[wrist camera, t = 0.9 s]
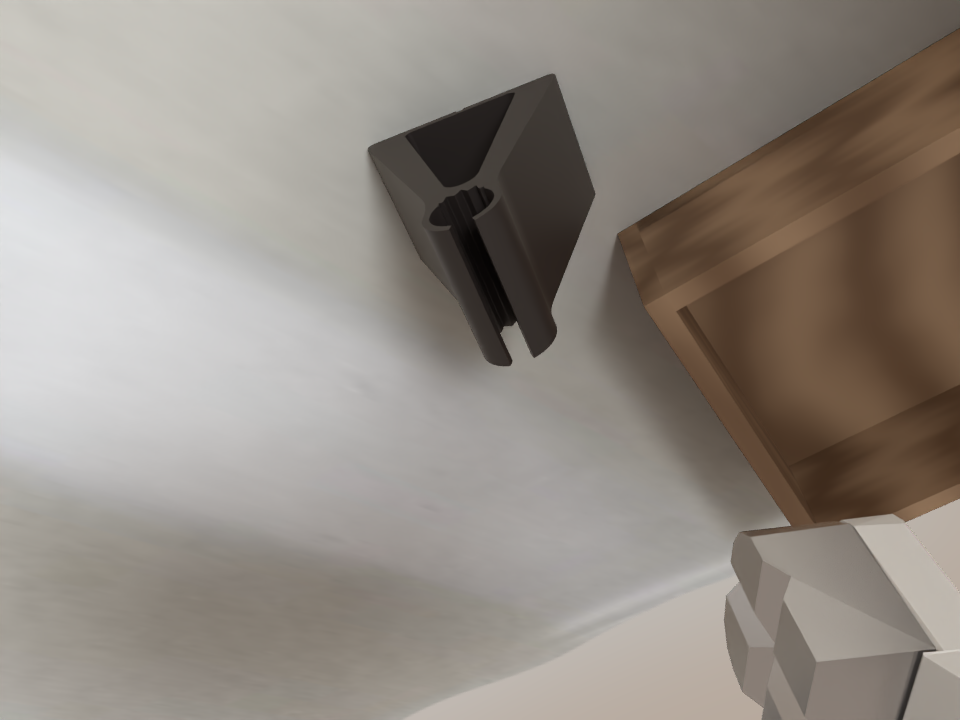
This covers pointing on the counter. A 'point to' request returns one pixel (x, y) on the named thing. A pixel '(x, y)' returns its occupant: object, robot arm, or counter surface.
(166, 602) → the counter surface
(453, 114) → the phone stand
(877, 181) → the walnut box
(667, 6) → the counter surface
